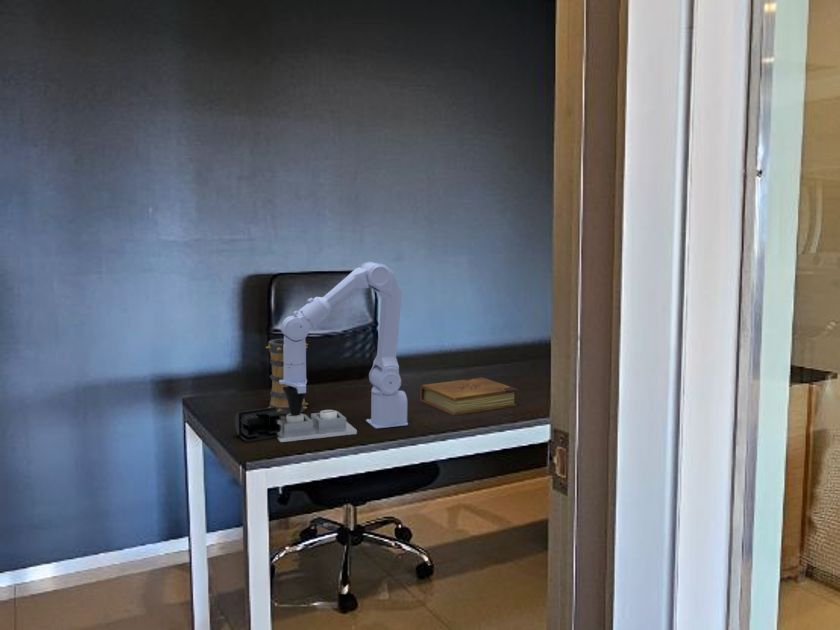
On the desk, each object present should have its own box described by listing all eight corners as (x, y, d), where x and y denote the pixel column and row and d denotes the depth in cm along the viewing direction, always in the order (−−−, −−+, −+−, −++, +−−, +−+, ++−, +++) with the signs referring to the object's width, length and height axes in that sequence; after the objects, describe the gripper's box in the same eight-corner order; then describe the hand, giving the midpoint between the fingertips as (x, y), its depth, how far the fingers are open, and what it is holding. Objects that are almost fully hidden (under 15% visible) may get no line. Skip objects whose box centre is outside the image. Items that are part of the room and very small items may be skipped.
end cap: (271, 429, 194) (271, 404, 193) (282, 436, 188) (282, 410, 187) (234, 435, 188) (234, 409, 187) (245, 442, 182) (244, 416, 181)
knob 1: (301, 427, 195) (301, 411, 194) (305, 432, 191) (305, 416, 190) (284, 429, 193) (284, 413, 192) (288, 434, 189) (288, 417, 188)
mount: (340, 419, 204) (340, 407, 203) (356, 433, 191) (356, 420, 191) (268, 427, 196) (268, 414, 195) (280, 442, 183) (280, 428, 183)
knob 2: (333, 424, 198) (334, 408, 198) (338, 428, 194) (339, 413, 194) (318, 426, 196) (318, 410, 196) (322, 430, 192) (322, 414, 192)
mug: (273, 417, 205) (272, 346, 202) (255, 403, 220) (254, 337, 217) (316, 412, 211) (316, 343, 209) (296, 398, 226) (296, 334, 224)
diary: (480, 394, 238) (480, 376, 238) (516, 407, 223) (517, 389, 222) (419, 402, 226) (420, 383, 226) (453, 416, 211) (454, 397, 210)
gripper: (272, 358, 194) (273, 408, 196) (286, 369, 181) (286, 423, 183) (299, 356, 197) (299, 406, 199) (314, 367, 184) (314, 420, 186)
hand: (295, 414), depth 191 cm, fingers closed
